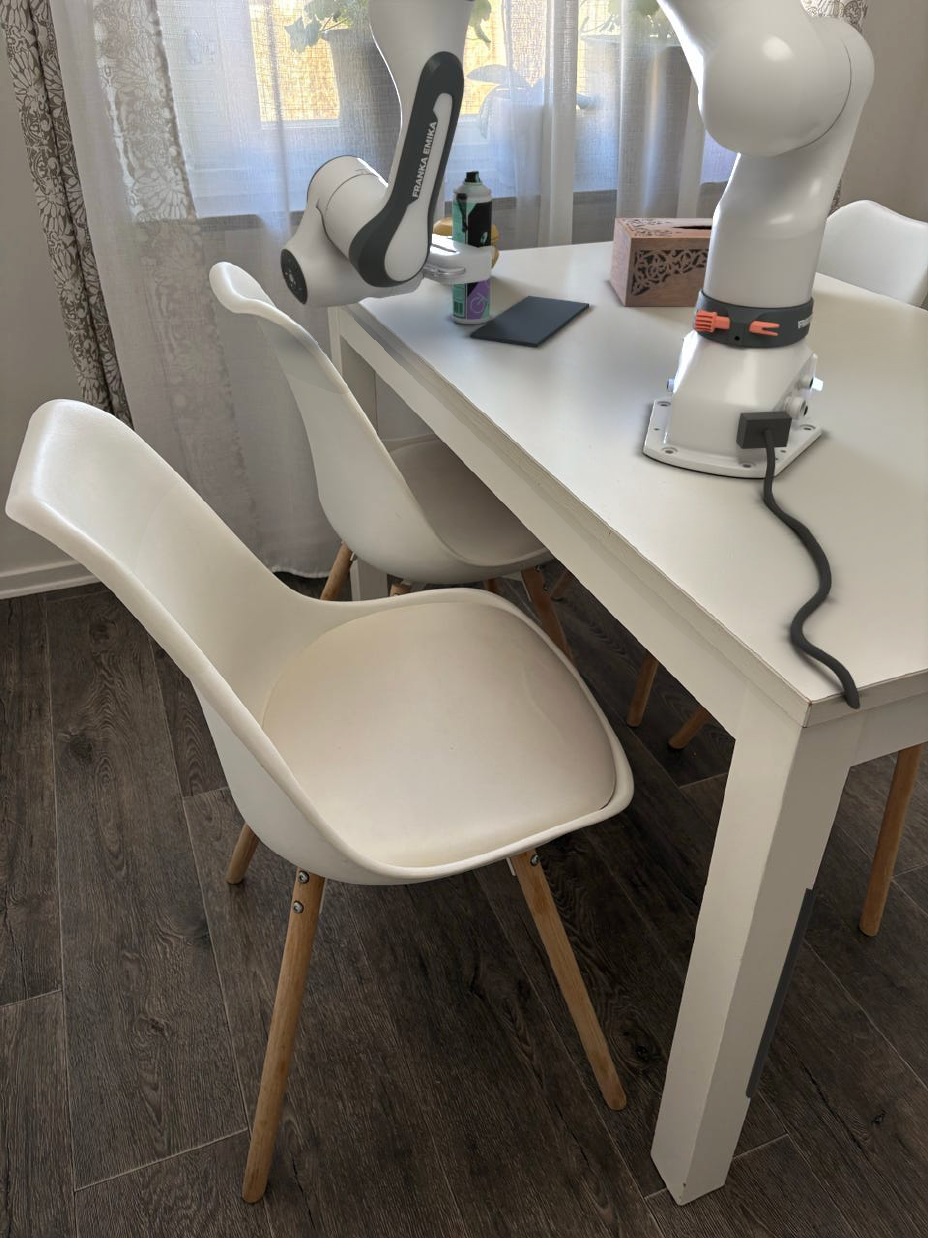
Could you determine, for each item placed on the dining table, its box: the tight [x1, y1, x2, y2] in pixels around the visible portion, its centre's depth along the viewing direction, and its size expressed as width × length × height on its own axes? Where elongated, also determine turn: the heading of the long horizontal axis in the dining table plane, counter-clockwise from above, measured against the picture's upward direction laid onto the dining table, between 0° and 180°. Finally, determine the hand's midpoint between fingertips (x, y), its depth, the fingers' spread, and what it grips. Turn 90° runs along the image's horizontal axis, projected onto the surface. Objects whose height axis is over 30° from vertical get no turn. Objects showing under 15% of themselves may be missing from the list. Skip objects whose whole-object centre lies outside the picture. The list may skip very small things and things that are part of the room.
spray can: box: [451, 170, 493, 325], centre depth 138 cm, size 6×6×20 cm
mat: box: [469, 295, 590, 348], centre depth 142 cm, size 22×10×1 cm, turn 155°
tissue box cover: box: [609, 217, 713, 307], centre depth 153 cm, size 26×14×10 cm, turn 92°
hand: (476, 246), depth 138 cm, fingers closed on spray can, 5 cm apart
